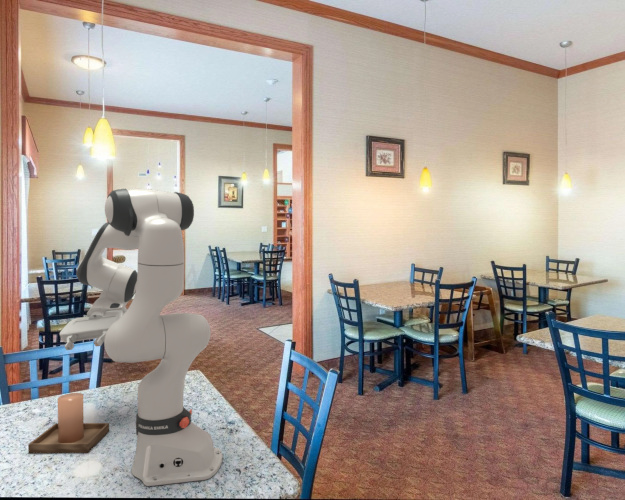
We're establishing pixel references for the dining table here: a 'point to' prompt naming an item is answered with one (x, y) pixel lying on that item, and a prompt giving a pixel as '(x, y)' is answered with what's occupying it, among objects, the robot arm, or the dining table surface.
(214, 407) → the dining table surface
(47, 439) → the tray
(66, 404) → the peach cylinder
